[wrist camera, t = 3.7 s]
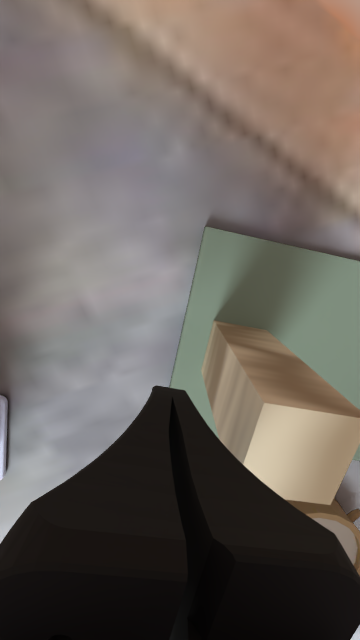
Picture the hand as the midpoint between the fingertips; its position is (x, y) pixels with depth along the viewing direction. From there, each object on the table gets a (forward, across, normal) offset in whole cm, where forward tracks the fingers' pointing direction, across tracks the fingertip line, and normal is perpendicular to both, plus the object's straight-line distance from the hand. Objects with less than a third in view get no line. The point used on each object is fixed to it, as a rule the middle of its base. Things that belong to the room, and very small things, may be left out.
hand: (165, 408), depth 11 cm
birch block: (+8, -5, 0) cm, 10 cm away
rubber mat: (+9, -11, 0) cm, 14 cm away
